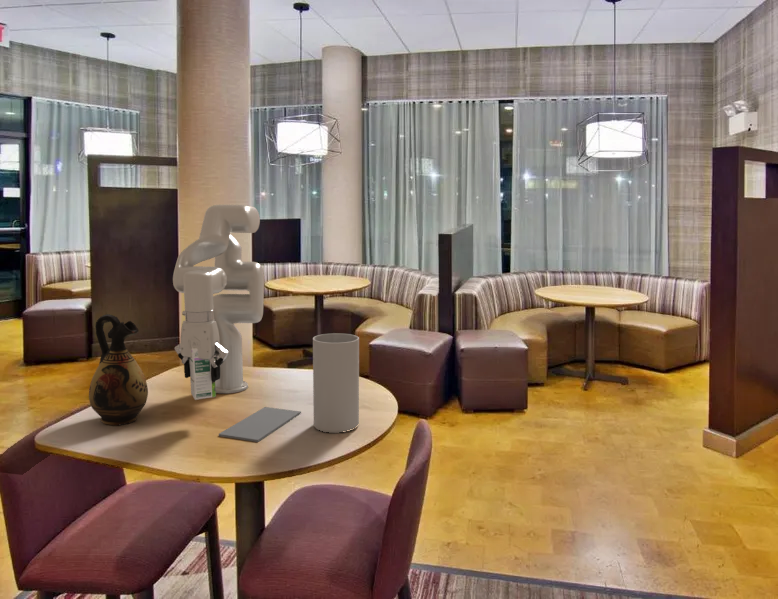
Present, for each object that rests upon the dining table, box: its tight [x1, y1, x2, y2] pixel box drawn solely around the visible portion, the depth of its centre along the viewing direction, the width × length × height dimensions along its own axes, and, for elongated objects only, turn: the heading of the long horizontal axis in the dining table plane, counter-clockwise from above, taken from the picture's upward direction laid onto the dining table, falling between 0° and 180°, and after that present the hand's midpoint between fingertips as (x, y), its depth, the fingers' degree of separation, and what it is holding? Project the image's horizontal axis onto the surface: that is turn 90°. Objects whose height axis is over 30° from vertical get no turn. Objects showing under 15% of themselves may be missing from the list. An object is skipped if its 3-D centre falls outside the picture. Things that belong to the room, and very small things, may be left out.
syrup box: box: [189, 347, 217, 401], centre depth 174 cm, size 6×6×14 cm
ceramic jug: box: [88, 313, 149, 427], centre depth 177 cm, size 17×15×30 cm
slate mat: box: [218, 406, 302, 443], centre depth 176 cm, size 12×24×1 cm, turn 161°
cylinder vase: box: [312, 332, 360, 434], centre depth 174 cm, size 12×12×25 cm
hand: (202, 378), depth 174 cm, fingers closed on syrup box, 8 cm apart
